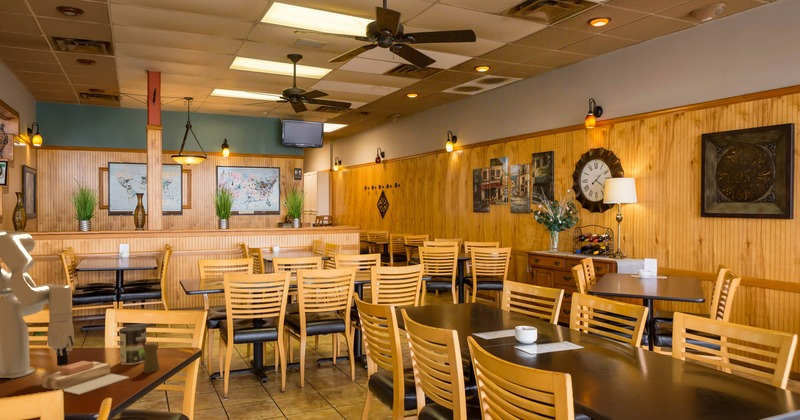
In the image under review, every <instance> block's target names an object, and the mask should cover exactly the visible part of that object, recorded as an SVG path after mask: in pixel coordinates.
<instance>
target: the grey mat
mask: <svg viewBox="0 0 800 420" xmlns="http://www.w3.org/2000/svg"><path fill="white" fill-rule="evenodd" d="M128 379H130V377H129V376H127V375H120V374H116V373H110V374H108V375H104V376H101V377H98V378H95V379H92V380H89V381H86V382H82V383H79V384H76V385H73V386H70V387H67V388H64V389H63V390H64V392H63V393H69V394H73V395H76V396H77V395H78V396H80V395H83V394H86V393H89V392H92V391H96V390H98V389H101V388H103V387H107V386H110V385H113V384H116V383H119V382H123V381H125V380H128Z"/></svg>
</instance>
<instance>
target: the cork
mask: <svg viewBox="0 0 800 420" xmlns="http://www.w3.org/2000/svg"><path fill="white" fill-rule="evenodd" d="M158 349H159V345H158V343H157V342H146V344H145V345H144V351H145V360H144V362H143V368H142V369H143V370H142V372H143V373H145V374H152V373H151V372H153V373H156V372H155V371H157V372H159V371H160V364H159V363H160V362H159V357H158ZM158 370H159V371H158Z"/></svg>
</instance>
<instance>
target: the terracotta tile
mask: <svg viewBox="0 0 800 420" xmlns="http://www.w3.org/2000/svg"><path fill="white" fill-rule="evenodd" d="M59 368H60V369H59V370H60V373H65V374H74V373H77V372H81V371H84V370H87V369H91V368H93V361H87V360H81V361H77V362H74V363H70V364H66V365H63V366H59Z"/></svg>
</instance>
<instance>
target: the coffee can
mask: <svg viewBox="0 0 800 420" xmlns="http://www.w3.org/2000/svg"><path fill="white" fill-rule="evenodd" d="M118 330H119V331H118V332H119V350H120V351H119V352H120V354H119V356H120V365H124V366H131V365H132V366H133V365H138V364H144V360H145V351H144V345H145V344H147V326H146V325H131V326H125V327H122V328H119V329H118Z"/></svg>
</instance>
